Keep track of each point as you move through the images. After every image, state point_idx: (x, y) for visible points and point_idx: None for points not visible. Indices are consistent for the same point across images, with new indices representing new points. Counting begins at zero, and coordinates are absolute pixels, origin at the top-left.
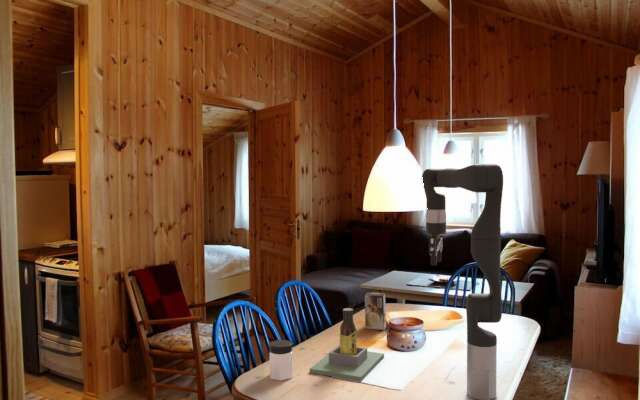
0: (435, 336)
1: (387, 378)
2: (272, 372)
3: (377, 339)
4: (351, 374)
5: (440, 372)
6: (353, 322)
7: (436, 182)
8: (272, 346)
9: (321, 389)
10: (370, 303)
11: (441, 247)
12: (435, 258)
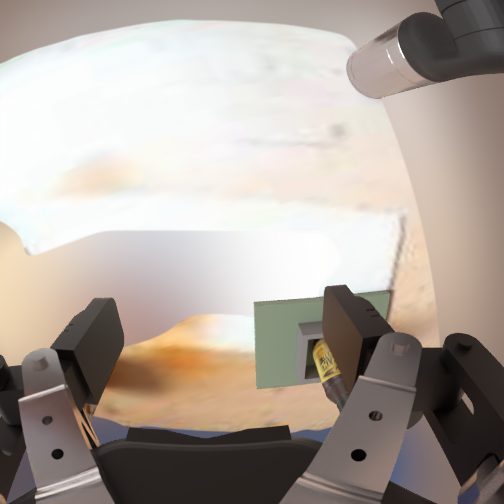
0: (62, 243)
1: (363, 254)
2: None
3: (150, 348)
4: (383, 311)
5: (293, 162)
6: (347, 389)
7: None
8: (420, 418)
9: (423, 324)
10: (85, 412)
11: (67, 394)
12: (367, 324)
